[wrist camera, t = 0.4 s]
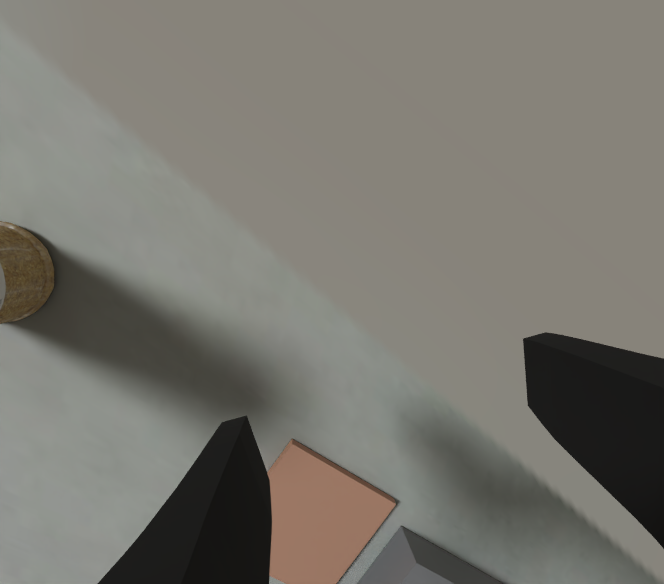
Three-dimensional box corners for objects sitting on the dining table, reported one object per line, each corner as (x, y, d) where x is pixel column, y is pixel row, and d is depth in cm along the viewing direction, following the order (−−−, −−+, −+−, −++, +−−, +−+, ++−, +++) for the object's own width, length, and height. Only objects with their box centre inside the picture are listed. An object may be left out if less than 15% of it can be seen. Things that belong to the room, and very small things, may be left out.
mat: (321, 593, 22) (322, 601, 22) (216, 541, 21) (215, 549, 20) (393, 498, 22) (396, 504, 21) (292, 438, 20) (292, 443, 20)
